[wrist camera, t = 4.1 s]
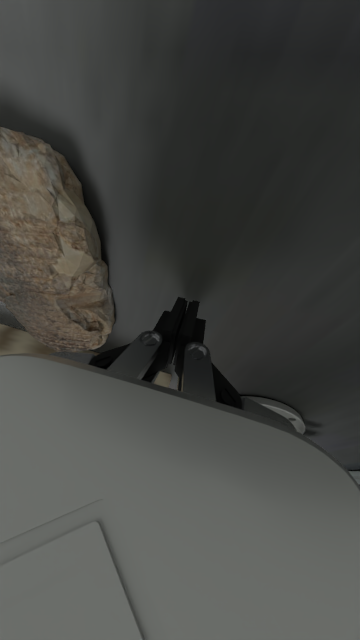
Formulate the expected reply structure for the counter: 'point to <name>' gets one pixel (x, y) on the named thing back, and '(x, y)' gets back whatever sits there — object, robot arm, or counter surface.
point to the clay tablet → (50, 249)
